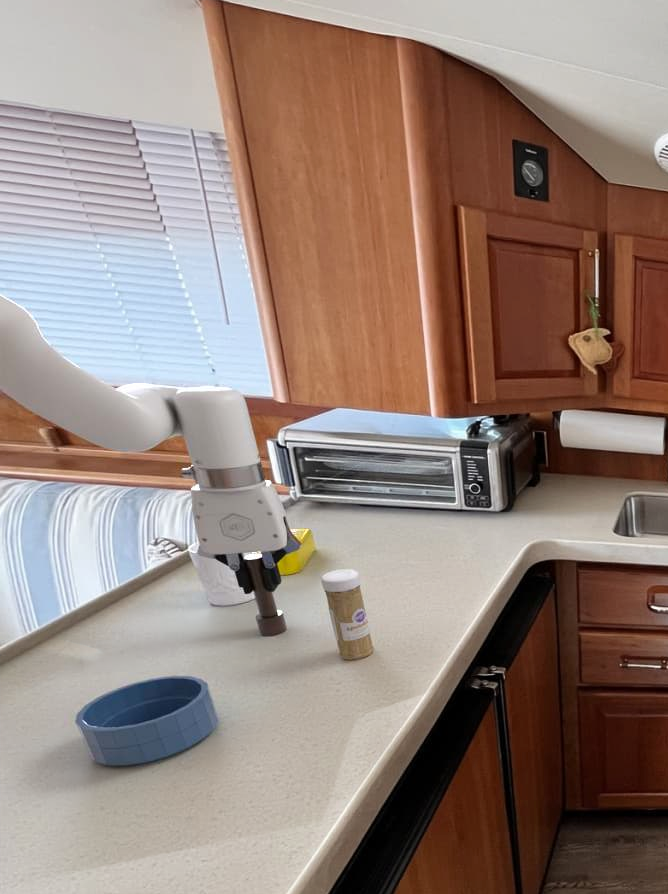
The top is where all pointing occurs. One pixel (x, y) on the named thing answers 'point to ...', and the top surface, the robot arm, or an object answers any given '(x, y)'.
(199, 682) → the bowl
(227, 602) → the white cup
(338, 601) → the sprinkles bottle
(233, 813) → the top surface
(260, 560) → the muddler
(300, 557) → the yellow box
